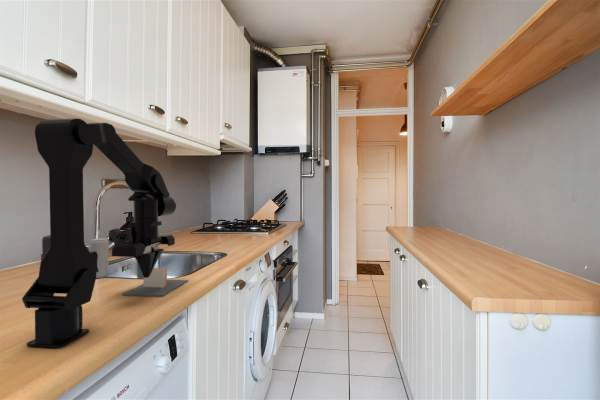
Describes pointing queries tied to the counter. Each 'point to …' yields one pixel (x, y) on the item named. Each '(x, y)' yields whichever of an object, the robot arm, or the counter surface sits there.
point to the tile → (156, 278)
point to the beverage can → (101, 256)
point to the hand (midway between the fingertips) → (146, 277)
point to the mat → (155, 289)
